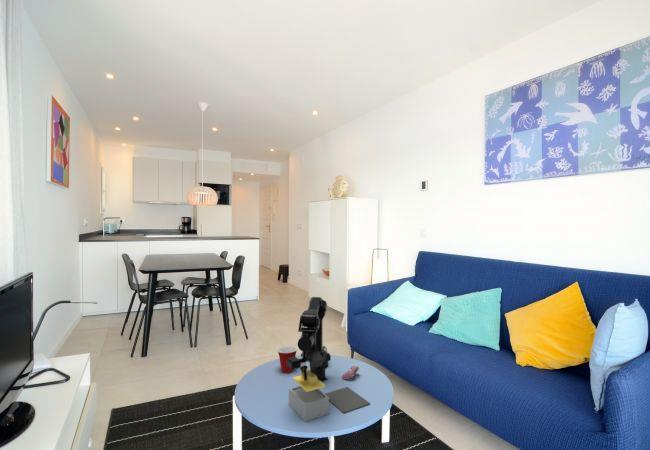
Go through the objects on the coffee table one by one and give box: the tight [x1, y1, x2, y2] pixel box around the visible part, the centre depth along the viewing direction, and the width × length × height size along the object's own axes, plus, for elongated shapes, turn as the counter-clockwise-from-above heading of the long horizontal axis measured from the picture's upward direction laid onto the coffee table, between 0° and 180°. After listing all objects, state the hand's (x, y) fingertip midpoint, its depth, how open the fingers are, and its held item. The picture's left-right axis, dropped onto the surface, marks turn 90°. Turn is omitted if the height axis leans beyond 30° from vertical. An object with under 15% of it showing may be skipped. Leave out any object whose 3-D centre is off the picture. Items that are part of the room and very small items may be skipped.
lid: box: [292, 368, 326, 392], centre depth 142 cm, size 8×12×4 cm
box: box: [288, 385, 330, 423], centre depth 142 cm, size 11×15×7 cm
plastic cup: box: [276, 345, 298, 374], centre depth 179 cm, size 11×11×12 cm
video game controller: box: [341, 364, 360, 381], centre depth 173 cm, size 10×5×7 cm, turn 148°
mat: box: [324, 386, 371, 414], centre depth 150 cm, size 14×17×1 cm
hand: (308, 379), depth 142 cm, fingers closed on lid, 3 cm apart
